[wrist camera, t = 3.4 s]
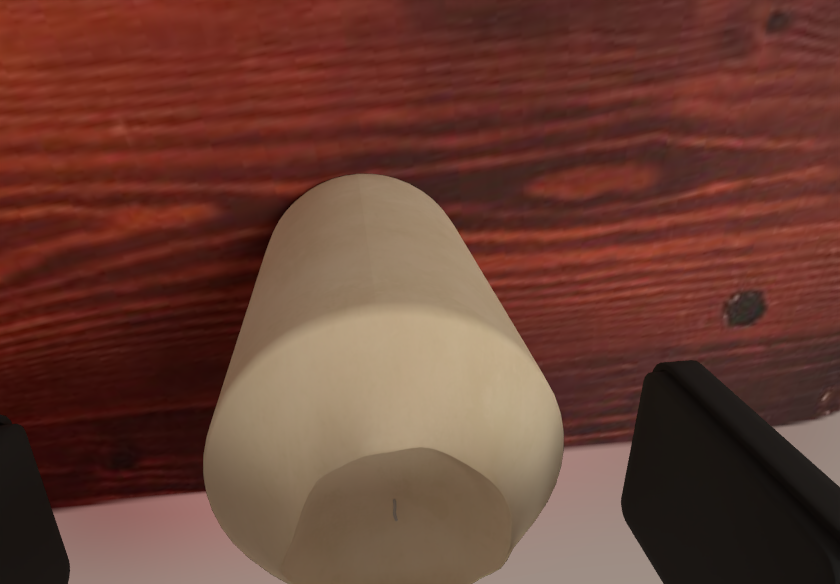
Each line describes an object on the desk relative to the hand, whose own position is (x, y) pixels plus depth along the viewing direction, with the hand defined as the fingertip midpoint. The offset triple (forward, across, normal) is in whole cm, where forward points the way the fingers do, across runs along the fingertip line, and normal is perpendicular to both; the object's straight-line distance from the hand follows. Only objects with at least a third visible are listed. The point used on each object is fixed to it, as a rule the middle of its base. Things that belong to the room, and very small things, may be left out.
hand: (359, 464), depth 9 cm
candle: (+8, -1, 0) cm, 9 cm away
